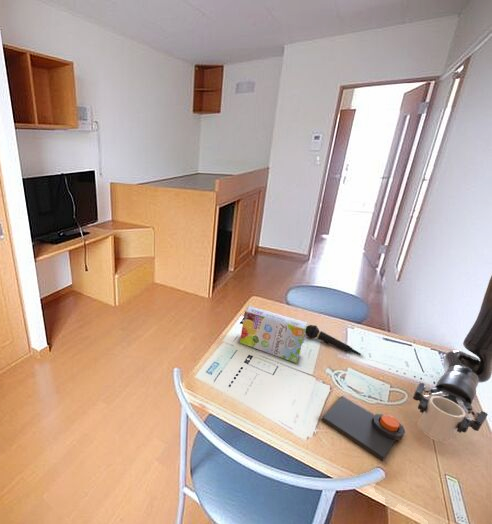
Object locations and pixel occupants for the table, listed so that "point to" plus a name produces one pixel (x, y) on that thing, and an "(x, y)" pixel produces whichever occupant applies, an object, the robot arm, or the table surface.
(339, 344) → the microphone
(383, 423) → the button
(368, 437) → the scale
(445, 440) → the cup
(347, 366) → the table surface
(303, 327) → the snack box
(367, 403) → the table surface
